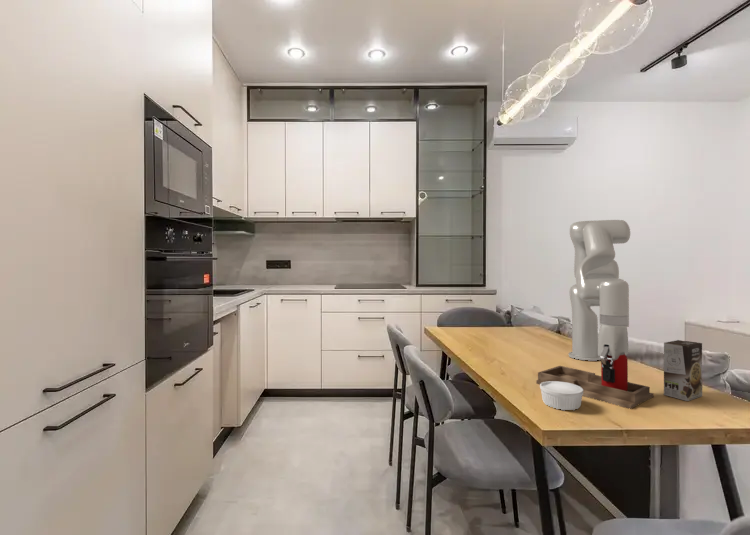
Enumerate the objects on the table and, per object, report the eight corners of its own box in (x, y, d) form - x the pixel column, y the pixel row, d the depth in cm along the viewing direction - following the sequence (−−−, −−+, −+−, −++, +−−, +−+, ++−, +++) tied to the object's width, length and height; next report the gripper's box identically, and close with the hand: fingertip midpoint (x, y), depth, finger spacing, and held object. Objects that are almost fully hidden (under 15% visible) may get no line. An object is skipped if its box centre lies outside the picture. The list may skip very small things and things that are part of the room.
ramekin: (548, 395, 114) (548, 378, 114) (589, 404, 106) (588, 386, 106) (533, 405, 106) (533, 386, 106) (575, 416, 98) (575, 396, 98)
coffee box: (688, 401, 107) (688, 346, 107) (662, 395, 113) (662, 342, 113) (703, 396, 111) (703, 342, 111) (678, 390, 117) (677, 339, 117)
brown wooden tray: (536, 383, 125) (536, 372, 125) (561, 374, 134) (561, 365, 134) (630, 408, 102) (630, 396, 102) (653, 396, 112) (653, 385, 111)
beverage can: (620, 387, 116) (619, 349, 116) (632, 395, 109) (632, 354, 109) (597, 387, 117) (596, 349, 117) (608, 394, 110) (608, 354, 110)
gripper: (613, 316, 121) (613, 371, 121) (587, 322, 111) (587, 381, 111) (640, 319, 115) (640, 376, 115) (614, 325, 105) (615, 388, 105)
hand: (614, 378), depth 113 cm, fingers closed on beverage can, 6 cm apart
